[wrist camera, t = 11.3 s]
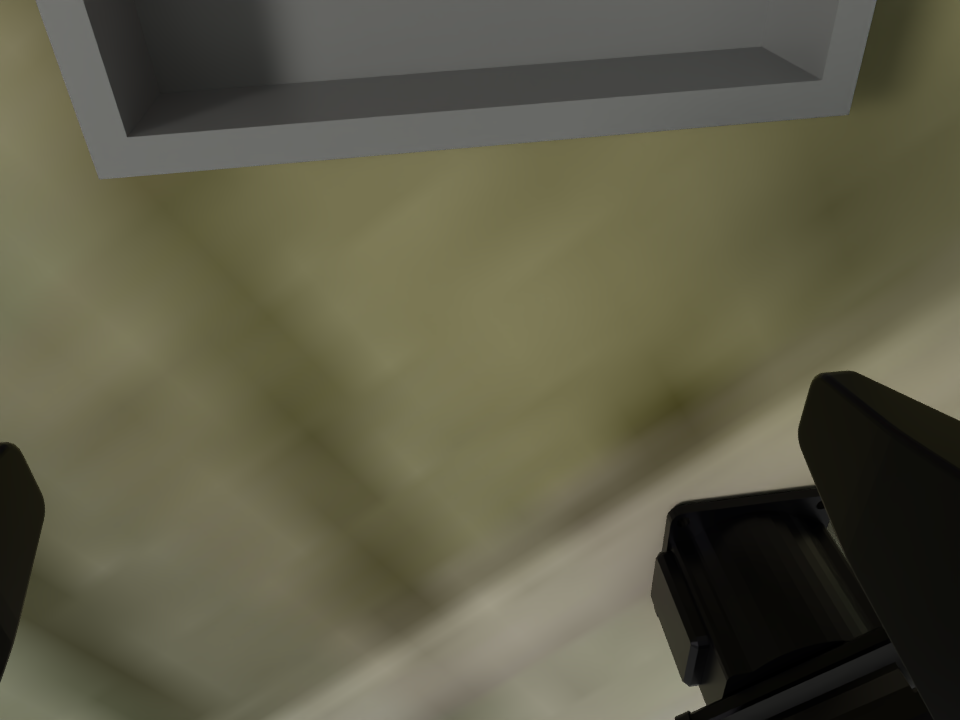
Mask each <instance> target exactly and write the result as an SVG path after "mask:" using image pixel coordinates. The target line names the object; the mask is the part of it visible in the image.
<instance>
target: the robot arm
mask: <svg viewBox="0 0 960 720" xmlns="http://www.w3.org/2000/svg"><path fill="white" fill-rule="evenodd" d="M798 440H799V444H800V448H801V451H802V453H803V455H804V458H805V460H806V463H807V465H808V468H809V470H810V473H811V475H812V477H813V480H814V482H815V485H816V487H817V488H816V489H808V490H800V491H792V492H784V493H776V494H768V495H760V496H752V497H744V498H736V499H728V500H720V501H712V502H704V503H696V504H688V505H681V506H677V507H675V508H673V509H672V510H671V511H670V512H669V513H668V515H667V520H666V527H665V534H664V541H663V547H662V552H660V553H659V554H658V556H657V557H656V562H655V569H654V576H653V583H652V590H651V598H652V601H653V604H654V609H655V612H656V614H657V616H658V617H659V620H660V622H661V625H662V628H663V630H664V633H665V636H666V639H667V641H668V644H669V647H670V649H671V652H672V655H673V657H674V660H675V663H676V665H677V668H678V671H679V674H680V676H681V679H682V681H683V682H684V683H686V684H687V685H688V686H689V687H691V686H697V685H699V688H700V690H701V693H702V695H703V698H704V700H705V703H706V706H705V707H702V708H700V709H698V710H696V711H694V712H692V713H691V712H690V711H687V712H685V713H683V714H680V715H678V716H676V717H675V720H960V421H959V420H957V419H955V418H953V417H950V416H948V415H946V414H944V413H942V412H940V411H938V410H936V409H933V408H931V407H929V406H927V405H925V404H923V403H921V402H918V401H916V400H914V399H912V398H910V397H908V396H906V395H904V394H901V393H899V392H897V391H895V390H893V389H891V388H889V387H887V386H884V385H882V384H880V383H878V382H876V381H874V380H872V379H869V378H867V377H865V376H863V375H861V374H859V373H857V372H854V371H838V372H826V373H820V374H819V375H817V376H816V377H815V378H814V379H813V380H812V383H811V385H810V388H809V392H808V395H807V399H806V402H805V406H804V409H803V413H802V416H801V420H800V423H799V428H798ZM44 516H45V504H44V499H43V496H42V493H41V491H40V489H39V487H38V485H37V483H36V481H35V479H34V477H33V475H32V472H31V470H30V468H29V466H28V464H27V462H26V460H25V458H24V456H23V454H22V452H21V451H20V449H19V448H18V447H17V446H16V445H14V444H12V443H9V442H1V443H0V681H1V679H2V676H3V673H4V670H5V668H6V665H7V662H8V659H9V656H10V653H11V650H12V647H13V644H14V640H15V637H16V633H17V629H18V626H19V622H20V618H21V613H22V609H23V605H24V601H25V597H26V592H27V588H28V584H29V580H30V576H31V571H32V567H33V563H34V559H35V555H36V551H37V546H38V542H39V538H40V534H41V530H42V525H43V521H44ZM829 520H830V522H831V524H832V526H833V529H834V531H835V534H836V536H837V539H838V541H839V543H840V545H841V548H842V550H843V552H844V554H845V556H844V555H843V553H842V552H841V550H840V548H839V547H838V545H837V544H836V542H835V541H834V539H833V538H832V536H831V535H830V533H829V532H828V530H827V526H828V523H829ZM845 557H846V558H845ZM847 560H848V561H847Z"/></svg>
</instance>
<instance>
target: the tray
mask: <svg viewBox="0 0 960 720" xmlns="http://www.w3.org/2000/svg"><path fill="white" fill-rule="evenodd" d="M876 1H877V0H36V3H37V6H38V9H39V12H40V14H41V17H42V20H43V23H44V26H45V28H46V31H47V34H48V37H49V40H50V43H51V45H52V48H53V51H54V54H55V57H56V59H57V62H58V65H59V68H60V71H61V73H62V76H63V79H64V82H65V85H66V87H67V90H68V93H69V96H70V99H71V102H72V104H73V107H74V110H75V113H76V116H77V118H78V121H79V124H80V127H81V130H82V132H83V135H84V138H85V141H86V144H87V147H88V149H89V152H90V155H91V158H92V161H93V163H94V166H95V169H96V172H97V175H98V177H99V179H110V178H121V177H133V176H145V175H156V174H168V173H179V172H191V171H202V170H214V169H226V168H237V167H249V166H260V165H272V164H284V163H295V162H307V161H318V160H330V159H342V158H353V157H365V156H376V155H388V154H400V153H411V152H423V151H434V150H446V149H457V148H469V147H481V146H492V145H504V144H515V143H527V142H539V141H550V140H562V139H573V138H585V137H597V136H608V135H620V134H631V133H643V132H655V131H666V130H678V129H689V128H701V127H712V126H724V125H736V124H747V123H759V122H770V121H782V120H794V119H805V118H817V117H828V116H840V115H849V112H850V108H851V103H852V99H853V95H854V91H855V87H856V83H857V79H858V75H859V71H860V66H861V62H862V58H863V54H864V50H865V46H866V42H867V38H868V34H869V30H870V25H871V21H872V17H873V13H874V9H875V5H876Z"/></svg>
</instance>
